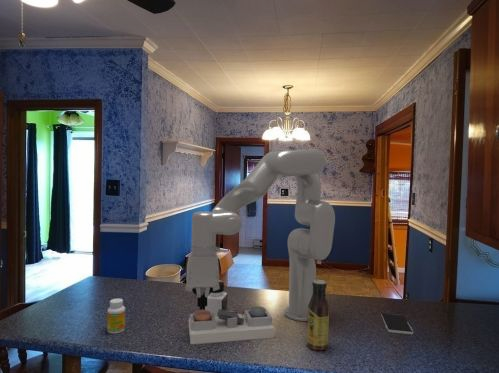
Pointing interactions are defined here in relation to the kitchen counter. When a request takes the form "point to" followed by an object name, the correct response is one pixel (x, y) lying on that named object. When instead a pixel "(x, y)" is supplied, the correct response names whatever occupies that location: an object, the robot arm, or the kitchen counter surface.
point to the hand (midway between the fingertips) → (202, 308)
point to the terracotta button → (202, 315)
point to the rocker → (230, 316)
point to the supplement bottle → (116, 316)
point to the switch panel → (230, 329)
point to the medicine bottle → (217, 300)
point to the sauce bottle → (318, 317)
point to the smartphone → (396, 323)
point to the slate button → (257, 312)
